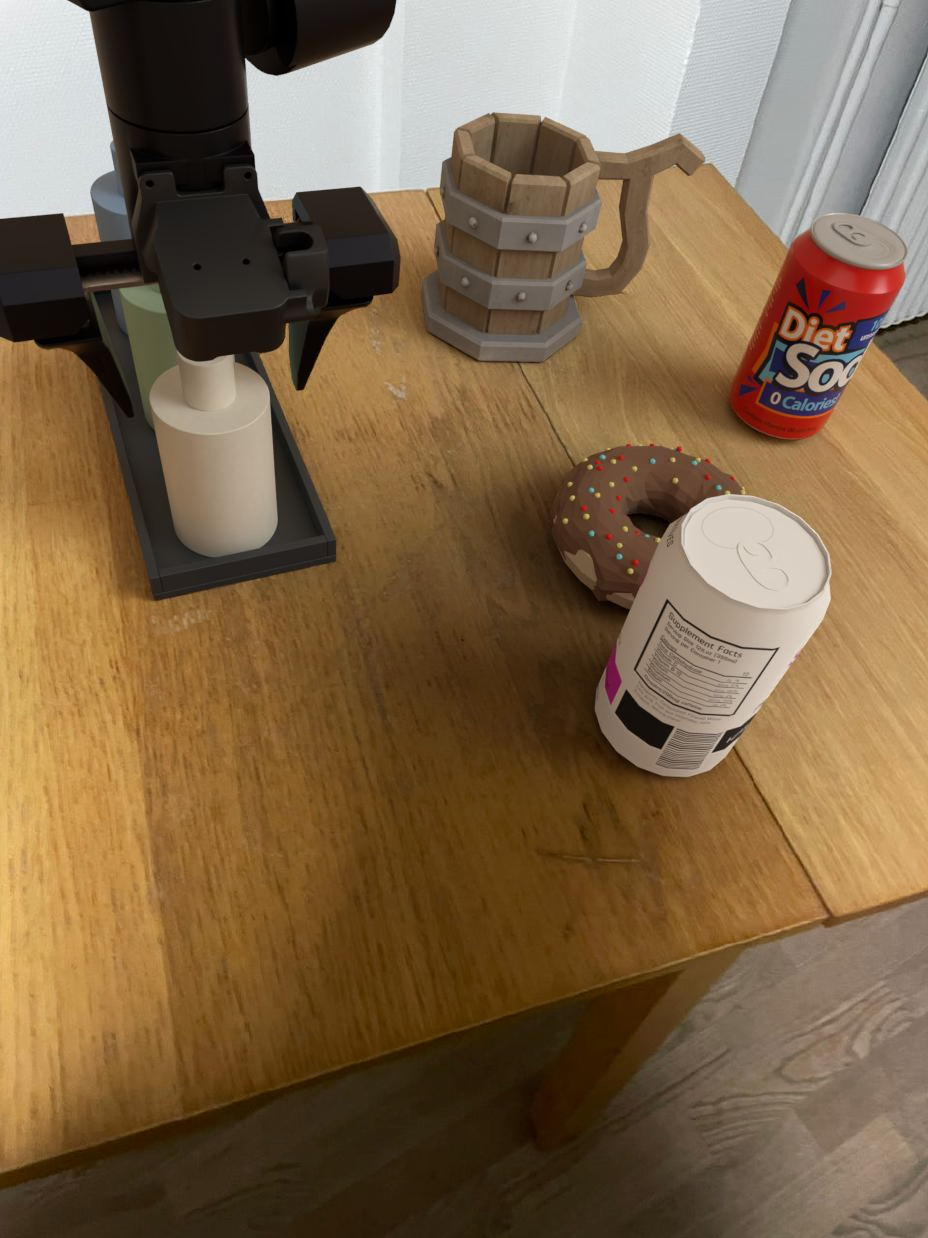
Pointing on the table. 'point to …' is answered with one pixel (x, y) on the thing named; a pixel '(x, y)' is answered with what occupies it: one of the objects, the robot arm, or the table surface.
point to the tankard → (532, 232)
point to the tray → (166, 558)
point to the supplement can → (711, 632)
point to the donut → (626, 512)
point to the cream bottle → (216, 454)
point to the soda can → (817, 324)
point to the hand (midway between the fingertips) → (216, 399)
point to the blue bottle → (111, 219)
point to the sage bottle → (148, 338)
